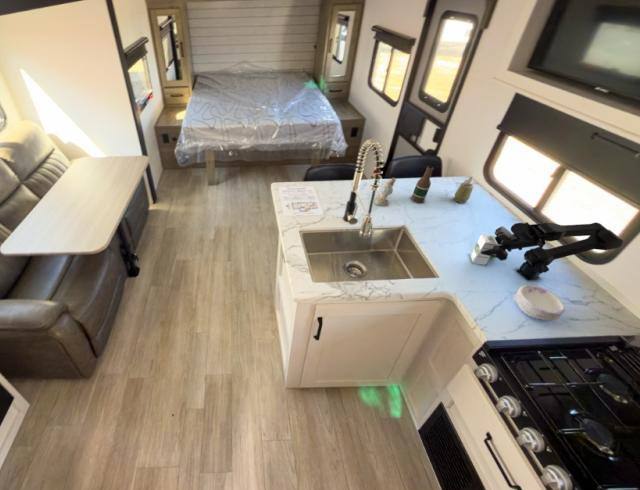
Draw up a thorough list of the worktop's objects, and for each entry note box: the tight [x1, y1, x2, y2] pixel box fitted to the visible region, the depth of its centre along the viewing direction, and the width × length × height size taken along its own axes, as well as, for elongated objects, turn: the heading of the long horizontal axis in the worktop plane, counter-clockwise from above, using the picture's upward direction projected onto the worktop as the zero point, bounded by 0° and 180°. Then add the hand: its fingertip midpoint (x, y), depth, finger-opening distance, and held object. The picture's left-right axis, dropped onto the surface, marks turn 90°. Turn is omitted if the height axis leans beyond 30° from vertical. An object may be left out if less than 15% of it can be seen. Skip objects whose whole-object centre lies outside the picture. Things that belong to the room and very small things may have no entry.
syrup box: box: [469, 234, 498, 266], centre depth 157 cm, size 6×6×14 cm
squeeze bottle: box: [454, 175, 474, 204], centre depth 197 cm, size 8×8×18 cm
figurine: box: [374, 177, 397, 206], centre depth 196 cm, size 9×8×20 cm
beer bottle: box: [411, 165, 434, 204], centre depth 196 cm, size 8×8×24 cm
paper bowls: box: [513, 284, 566, 322], centre depth 135 cm, size 15×15×8 cm
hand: (483, 247), depth 156 cm, fingers open, 9 cm apart
